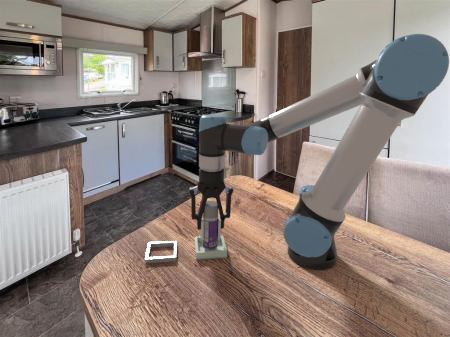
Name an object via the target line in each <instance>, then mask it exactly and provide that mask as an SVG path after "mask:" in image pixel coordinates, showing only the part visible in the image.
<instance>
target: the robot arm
mask: <svg viewBox="0 0 450 337" xmlns="http://www.w3.org/2000/svg"><path fill="white" fill-rule="evenodd" d="M449 64H450V57H449V53H448V50H447V48H446V46H445V45H444V44H443V43H442V42H441V41H440V40H439V39H438V38H436V37H434V36H431V35H429V34H423V33H412V34H407V35H404V36H401V37H398V38H396V39H394V40H391V42H390V43H389V44H387V45H385V47H384V49H382V50H381V51H380V53H379V55H378V56H377V58H376V59H375V60H373V61H372V62H371V63H369V64H367V65H365V66H362V67H361V68H359V70H358V71H357V74H355V75H353V76H351V77H349V78H346V79H344V80H343V81H340V82H339V83H338V82H337V83H336V84H333V85H332V86H329V87H327V88H325V89H322V90H321V91H318V92H317V93H314V94H312V95H310V96H307V97H306V98H304V99H301V100H299V101H297V102H295V103H292V104H291V105H289V106H286V107H285V108H282V109H280V110H278V111H276V112H274V113H271V114H269V115H267V116H265V117H263V118H261V119H258V120H256V121H253V122H251V123H247V124H243V125H241V124H231V123H227V118H226V116H224V115H220V114H203V115H202V116H201V117H200V118H199V125H198V126H199V130H198V137H199V138H198V139H199V144H198V146H199V150H198V152H199V153H198V167H199V169H198V184H197V185H196V186H190V187H189V189H188V191H189V194H190V205H191V206H190V212H191V213H190V214H191V219H192V220H193V221H194V220H196V228H197V230H199V231H200V236H201V240H204V220H203V212H204V208H205V205H206V202H207V201H208V199H211V198H212V199H215V202H217V205H218V215H219V216H218V239H220V235H221V232H222V229H224V228H225V221H226V219H230V218H231V212H232V211H231V210H232V196H233V193H234V188H233V186H232V185H229V186H228V185H226V184H225V169H224V168H225V159H226V157H225V156H226V151H227V152H234V153H238V154H239V153H240V154H245V155H249V156H261V155H263V154H264V153H265V151H266V150H267V147H268V144H269V143H271V142H274V141H276V140H278V139H280V138H282V137H285V136H288V135H290V134H292V133H295V132H297V131H298V132H299V131H301V130H302V129H305V128H308V127H310V126H313V125H315V124H317V123H320V122H321V121H324V120H327V119H330V118H331V117H334V116H337V115H339V114H342V113H344V112H346V111H349V110H351V109H354V108H357V107H359V108H358V110H357V111H356V113H355V115H354V116H353V117H352V120H351V121H350V123H349V124H348V127H347V129H346V130H345V132H344V134H343V135H342V137H341V139H340V141H339V143H338V144H337V146H336V148H335V149H334V151H333V153H332V154H331V156H330V158H329V160H328V162H327V163H326V165H325V167H324V169H323V170H322V172H321V173H320V175H319V177H318V179H317V180H316V183H315V184H314V185H313V184H310V185H308V184H307V185H303V186H301V188H300V191H299V193H298V194H299V198H298V201H297V203H296V204H295V207H294V209H293V210H292V212H291V214H290V216H289V217H288V219H286V221H285V223H284V227H283V233H282V234H283V238H284V241H285V243H286V245H287V255H288V257H289V258H290V259H291V261H292V262H294V263H296V264H298V265H300V267H304V268H307V269H311V270H317V271H321V270H327V269H331V268H333V267H334V266H335V265H336V264H337V259H338V251H337V245H336V242H335V235H336V233H337V232H338V230H339V229H340V227H341V225H342V224H343V222H344V221H345V220H346V213H345V210H344V209H345V207H346V205H347V204H348V203H349V201H350V199H351V198H352V196H354V194H355V192H356V191H357V189H358V187H359V186H360V185H361V183H362V181H363V180H364V178H365V177H366V176H367V174H368V172H369V170H370V169H371V167H372V166H373V164H374V163H375V161H376V160H377V158H378V156H380V154H381V152H382V151H383V149H384V147H385V146H386V145H387V142H388V141H389V140H390V138H391V137H392V135H393V134H394V132H395V131H396V129H397V128H398V126H399V125H400V123H401V122H402V121H404V120H405V119H409V118H411V117H414V116H416V113H417V112H418V110H419V109H420V108H421V106H422V105H423V103H424V102H425V100H426V99H427V97H428V96H429V95H430V94H431V93H432V92H434V91H435V90H437V88H438V87H439V86H440V85H441V84H442V82H443V81H444V79H445V77H446V76H447V73H448V71H449V66H450V65H449ZM198 191H199V193H200V194H201V195H202V196H201V199H200V200H201V201H200V203H199V207H198V211H197V213H196V210H197V209H196V207H197V206H196V201H197V200H196V195H197V193H198ZM224 191H225V192H224ZM223 192H224V193H225V211H224V210H223V204H222V202H221V201H222V200H221V194H222V193H223Z"/></svg>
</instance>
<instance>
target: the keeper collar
mask: <svg viewBox="0 0 450 337" xmlns="http://www.w3.org/2000/svg"><path fill="white" fill-rule="evenodd" d="M177 243H178V242H177V240H171V241H170V240H169V241H168V240H166V241H149V242H148V243H147V248H146V252H145V258H144V264H159V263H161V264H162V263H173V262H174V263H175V262H177V254H178V253H177V252H178V250H177V249H178V248H177V246H178V244H177ZM167 247H168V248H169V247H173V255H165V256H164V255H163V256H150V255H151V248H167Z"/></svg>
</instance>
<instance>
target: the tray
mask: <svg viewBox="0 0 450 337" xmlns="http://www.w3.org/2000/svg"><path fill="white" fill-rule="evenodd" d="M227 249H228V248H227V245H226V241H225V238H224V235H220V239H218V242H217V248H216V249H214V250H206V249H204V248H203V240H201V235H199V236H198V235H197V236H194V251H195V252H194V253H195V261H204V260H216V259H217V260H218V259H220V260H221V259H227V258H228V250H227Z"/></svg>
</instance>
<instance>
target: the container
mask: <svg viewBox="0 0 450 337" xmlns="http://www.w3.org/2000/svg"><path fill="white" fill-rule="evenodd" d="M218 217H219V210H218V205H217V201H216V200H207V202H206V205H205V208H204V212H203V216H202V218H203V220H204V240H203V248H204V249H206V250H214V249H216V248H217V242H218Z"/></svg>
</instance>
